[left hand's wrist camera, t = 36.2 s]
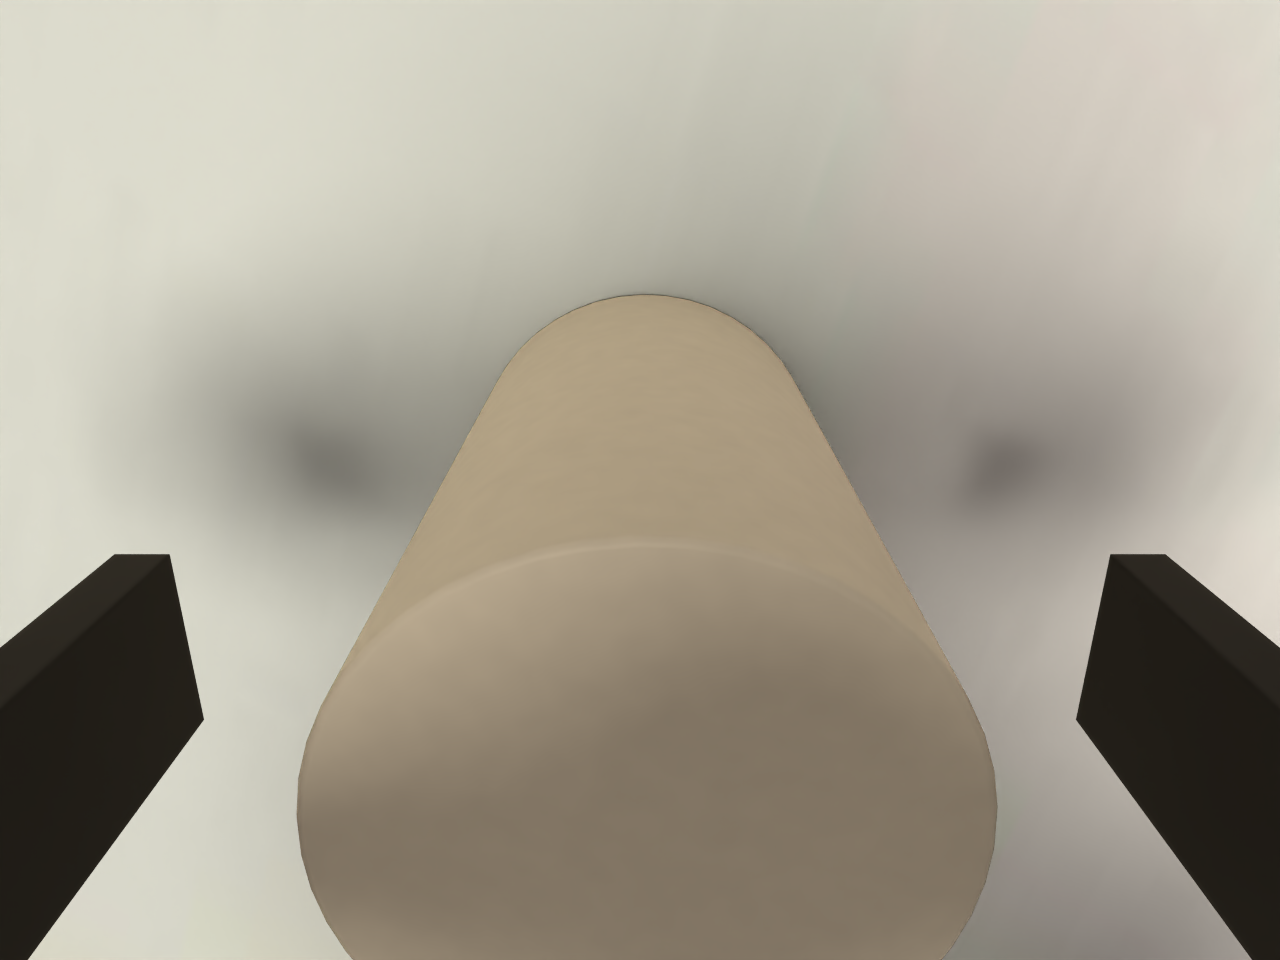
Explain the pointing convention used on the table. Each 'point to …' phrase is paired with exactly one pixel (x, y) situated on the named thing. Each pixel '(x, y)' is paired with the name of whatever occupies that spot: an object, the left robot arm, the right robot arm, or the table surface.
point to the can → (646, 685)
